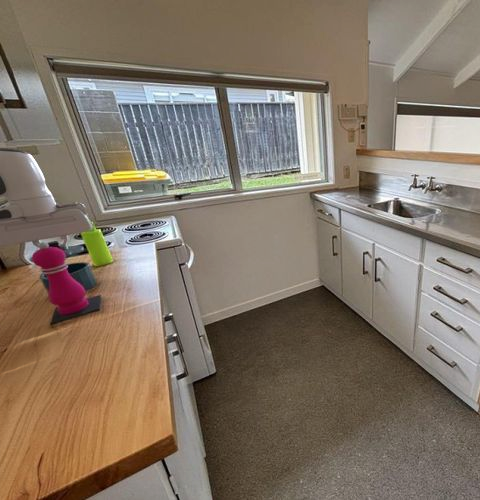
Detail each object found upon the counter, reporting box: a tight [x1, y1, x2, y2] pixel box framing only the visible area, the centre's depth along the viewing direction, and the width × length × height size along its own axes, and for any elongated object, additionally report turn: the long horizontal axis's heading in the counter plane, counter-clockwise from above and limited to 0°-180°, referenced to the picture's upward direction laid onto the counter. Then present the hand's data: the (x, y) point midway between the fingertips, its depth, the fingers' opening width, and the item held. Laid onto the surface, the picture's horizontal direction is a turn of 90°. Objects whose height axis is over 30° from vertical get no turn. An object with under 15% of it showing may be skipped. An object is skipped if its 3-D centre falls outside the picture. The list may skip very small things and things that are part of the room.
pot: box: [39, 261, 98, 296], centre depth 90 cm, size 11×11×8 cm
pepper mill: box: [31, 241, 89, 315], centre depth 76 cm, size 7×7×20 cm
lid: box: [29, 240, 84, 264], centre depth 86 cm, size 12×12×5 cm
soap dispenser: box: [80, 213, 114, 267], centre depth 108 cm, size 6×7×20 cm
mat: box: [49, 294, 102, 326], centre depth 80 cm, size 10×10×1 cm
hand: (56, 251), depth 86 cm, fingers closed on lid, 2 cm apart
